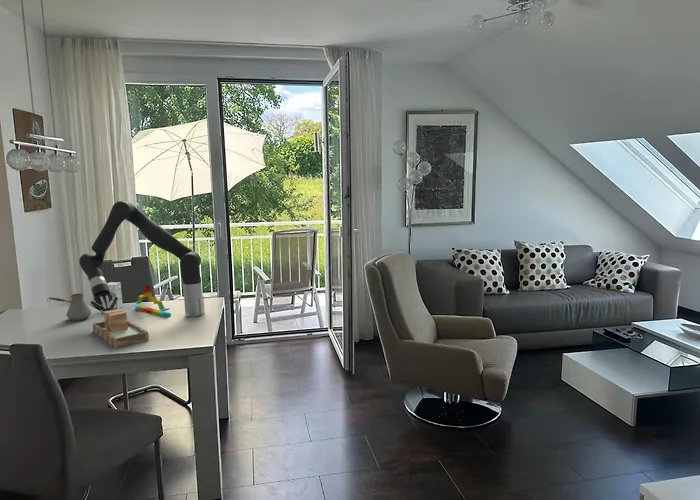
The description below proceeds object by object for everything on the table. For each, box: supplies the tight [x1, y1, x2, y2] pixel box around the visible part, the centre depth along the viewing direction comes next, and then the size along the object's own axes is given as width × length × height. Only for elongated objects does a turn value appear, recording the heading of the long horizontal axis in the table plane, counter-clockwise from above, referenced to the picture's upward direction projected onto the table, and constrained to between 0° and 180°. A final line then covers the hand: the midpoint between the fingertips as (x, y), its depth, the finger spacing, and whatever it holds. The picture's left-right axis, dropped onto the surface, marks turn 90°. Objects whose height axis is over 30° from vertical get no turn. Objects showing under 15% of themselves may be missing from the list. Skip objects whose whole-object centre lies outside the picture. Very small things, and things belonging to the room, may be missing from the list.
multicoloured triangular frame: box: [134, 284, 172, 318], centre depth 267 cm, size 30×3×15 cm, turn 52°
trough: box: [91, 319, 150, 349], centre depth 228 cm, size 33×14×4 cm, turn 42°
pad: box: [110, 328, 140, 338], centre depth 224 cm, size 10×12×2 cm
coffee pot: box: [47, 293, 92, 322], centre depth 254 cm, size 21×12×15 cm, turn 156°
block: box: [103, 308, 128, 333], centre depth 230 cm, size 10×7×8 cm
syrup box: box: [107, 281, 124, 310], centre depth 279 cm, size 6×6×14 cm
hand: (109, 316), depth 238 cm, fingers closed
